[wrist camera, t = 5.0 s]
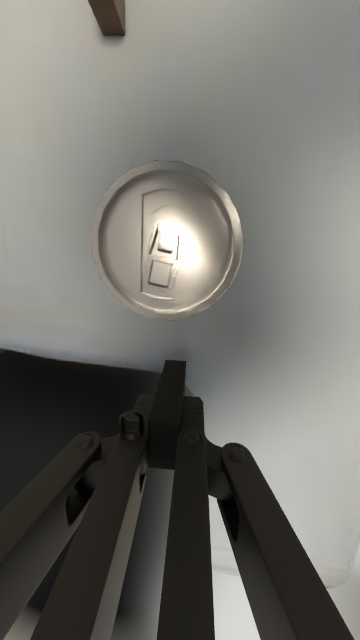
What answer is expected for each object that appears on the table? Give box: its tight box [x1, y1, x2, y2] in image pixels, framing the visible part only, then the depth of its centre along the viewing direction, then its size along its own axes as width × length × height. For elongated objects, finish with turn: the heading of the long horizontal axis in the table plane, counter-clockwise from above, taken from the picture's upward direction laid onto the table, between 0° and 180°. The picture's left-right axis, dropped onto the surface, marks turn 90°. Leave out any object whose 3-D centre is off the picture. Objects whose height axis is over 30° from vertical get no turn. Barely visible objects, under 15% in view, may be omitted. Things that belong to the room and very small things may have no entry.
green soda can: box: [91, 160, 244, 320], centre depth 13 cm, size 5×5×12 cm
